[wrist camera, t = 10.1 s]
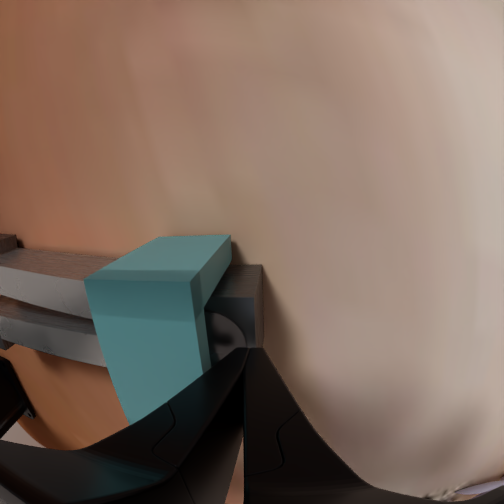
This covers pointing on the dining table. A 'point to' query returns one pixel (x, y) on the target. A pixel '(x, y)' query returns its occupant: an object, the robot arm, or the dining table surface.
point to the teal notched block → (156, 316)
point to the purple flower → (481, 488)
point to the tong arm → (47, 276)
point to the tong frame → (85, 337)
